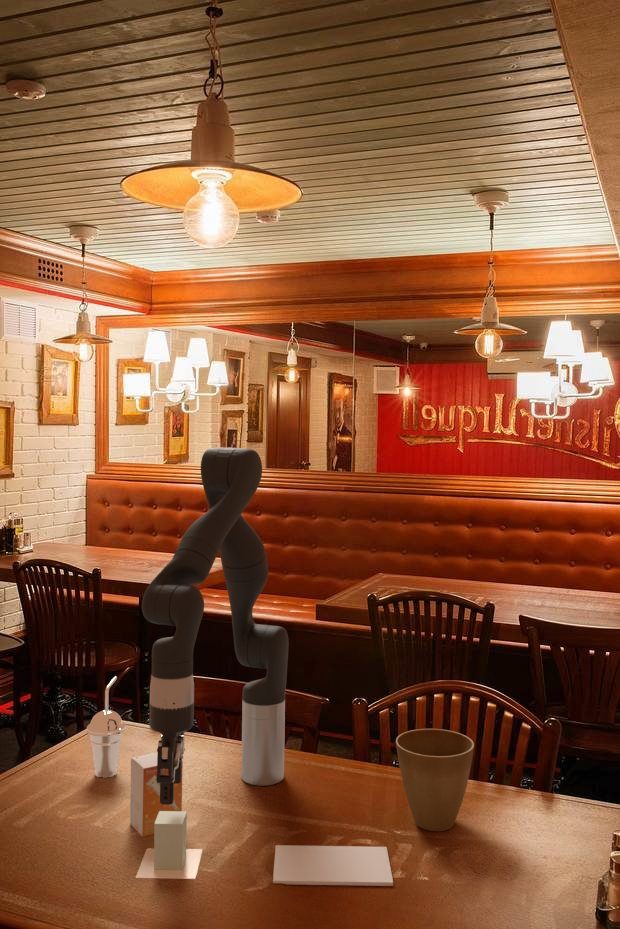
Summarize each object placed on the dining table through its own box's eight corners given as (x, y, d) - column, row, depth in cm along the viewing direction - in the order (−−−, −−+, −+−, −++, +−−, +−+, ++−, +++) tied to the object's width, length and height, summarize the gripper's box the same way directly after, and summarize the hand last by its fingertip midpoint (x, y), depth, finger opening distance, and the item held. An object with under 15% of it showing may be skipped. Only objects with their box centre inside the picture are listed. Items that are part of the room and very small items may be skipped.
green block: (158, 855, 149) (159, 811, 148) (186, 856, 149) (186, 811, 148) (153, 869, 144) (154, 823, 144) (182, 870, 144) (182, 824, 144)
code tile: (146, 849, 151) (146, 848, 151) (202, 850, 151) (202, 849, 151) (135, 878, 141) (135, 877, 141) (195, 879, 141) (195, 878, 141)
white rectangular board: (275, 848, 152) (275, 845, 152) (386, 850, 152) (386, 846, 152) (272, 884, 140) (272, 880, 140) (393, 885, 140) (393, 882, 140)
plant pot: (453, 802, 172) (455, 725, 172) (485, 837, 158) (487, 752, 157) (383, 809, 169) (385, 730, 168) (410, 845, 154) (412, 759, 154)
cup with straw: (77, 775, 183) (77, 684, 182) (109, 762, 190) (109, 674, 190) (104, 785, 178) (104, 691, 177) (135, 771, 185) (136, 681, 185)
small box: (142, 838, 155) (142, 768, 155) (129, 824, 161) (129, 757, 160) (182, 827, 160) (183, 759, 159) (168, 814, 165) (169, 748, 165)
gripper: (187, 713, 138) (186, 811, 139) (199, 687, 152) (198, 776, 153) (142, 713, 138) (140, 810, 139) (157, 687, 152) (156, 775, 153)
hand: (170, 792), depth 146 cm, fingers open, 8 cm apart
